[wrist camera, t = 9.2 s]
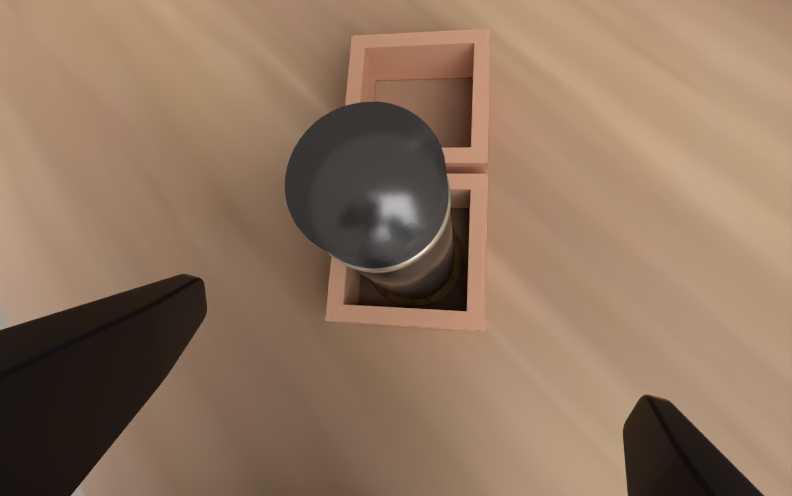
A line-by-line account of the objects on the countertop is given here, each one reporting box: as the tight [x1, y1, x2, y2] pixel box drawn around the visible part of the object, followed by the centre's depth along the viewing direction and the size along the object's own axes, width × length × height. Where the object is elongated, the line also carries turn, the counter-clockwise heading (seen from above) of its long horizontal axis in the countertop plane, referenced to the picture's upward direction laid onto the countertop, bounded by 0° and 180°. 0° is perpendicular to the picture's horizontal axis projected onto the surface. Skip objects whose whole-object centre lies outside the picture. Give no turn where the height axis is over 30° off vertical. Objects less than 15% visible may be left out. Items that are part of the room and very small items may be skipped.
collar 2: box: [325, 174, 488, 331], centre depth 22 cm, size 7×7×3 cm
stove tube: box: [285, 102, 455, 300], centre depth 17 cm, size 4×4×12 cm
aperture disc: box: [372, 229, 462, 306], centre depth 23 cm, size 5×5×1 cm
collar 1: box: [345, 29, 490, 174], centre depth 23 cm, size 7×7×3 cm
